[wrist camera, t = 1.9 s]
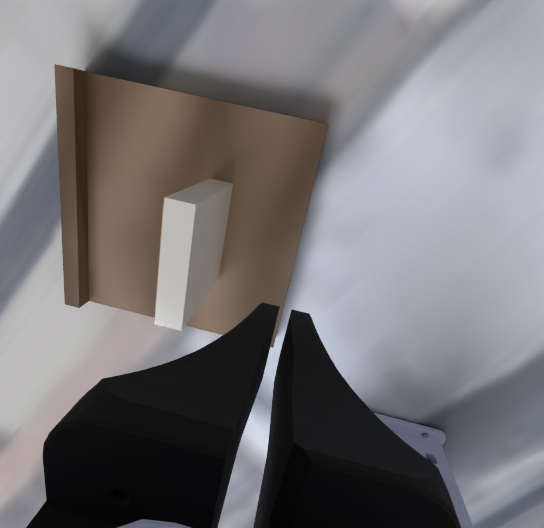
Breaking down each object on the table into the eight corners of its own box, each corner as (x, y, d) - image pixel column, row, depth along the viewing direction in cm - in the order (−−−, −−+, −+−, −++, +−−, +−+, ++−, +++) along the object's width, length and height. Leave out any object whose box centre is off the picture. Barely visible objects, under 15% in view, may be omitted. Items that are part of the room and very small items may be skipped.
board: (327, 124, 18) (328, 123, 16) (275, 337, 23) (271, 357, 21) (83, 71, 19) (54, 64, 17) (86, 289, 24) (64, 304, 22)
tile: (233, 183, 19) (195, 204, 13) (218, 279, 21) (181, 331, 15) (207, 177, 19) (159, 196, 13) (195, 273, 21) (150, 323, 16)
